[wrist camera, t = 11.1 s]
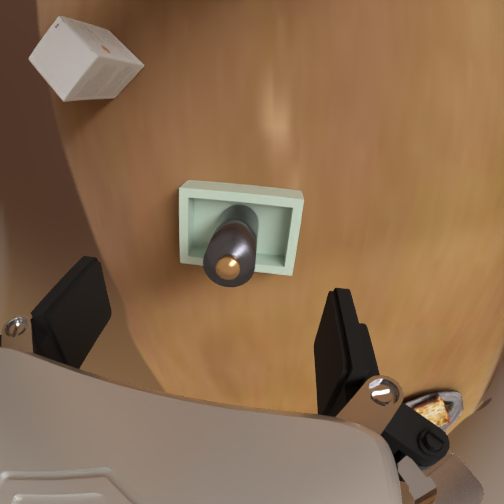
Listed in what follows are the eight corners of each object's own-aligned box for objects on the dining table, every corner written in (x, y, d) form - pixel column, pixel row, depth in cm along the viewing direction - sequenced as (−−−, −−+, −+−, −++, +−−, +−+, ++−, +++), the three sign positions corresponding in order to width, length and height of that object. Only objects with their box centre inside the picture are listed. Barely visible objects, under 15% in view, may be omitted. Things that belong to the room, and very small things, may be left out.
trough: (188, 180, 34) (179, 187, 31) (301, 190, 34) (303, 199, 31) (188, 249, 38) (180, 262, 35) (291, 261, 38) (292, 275, 35)
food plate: (349, 417, 52) (352, 431, 49) (455, 368, 45) (462, 381, 42) (380, 451, 61) (382, 462, 58) (461, 414, 54) (465, 425, 51)
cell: (219, 203, 34) (200, 243, 25) (259, 205, 34) (255, 246, 24) (219, 240, 36) (202, 290, 27) (257, 242, 36) (253, 293, 26)
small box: (81, 62, 28) (26, 58, 19) (110, 29, 26) (58, 13, 17) (115, 100, 30) (61, 103, 21) (146, 66, 28) (98, 55, 19)
